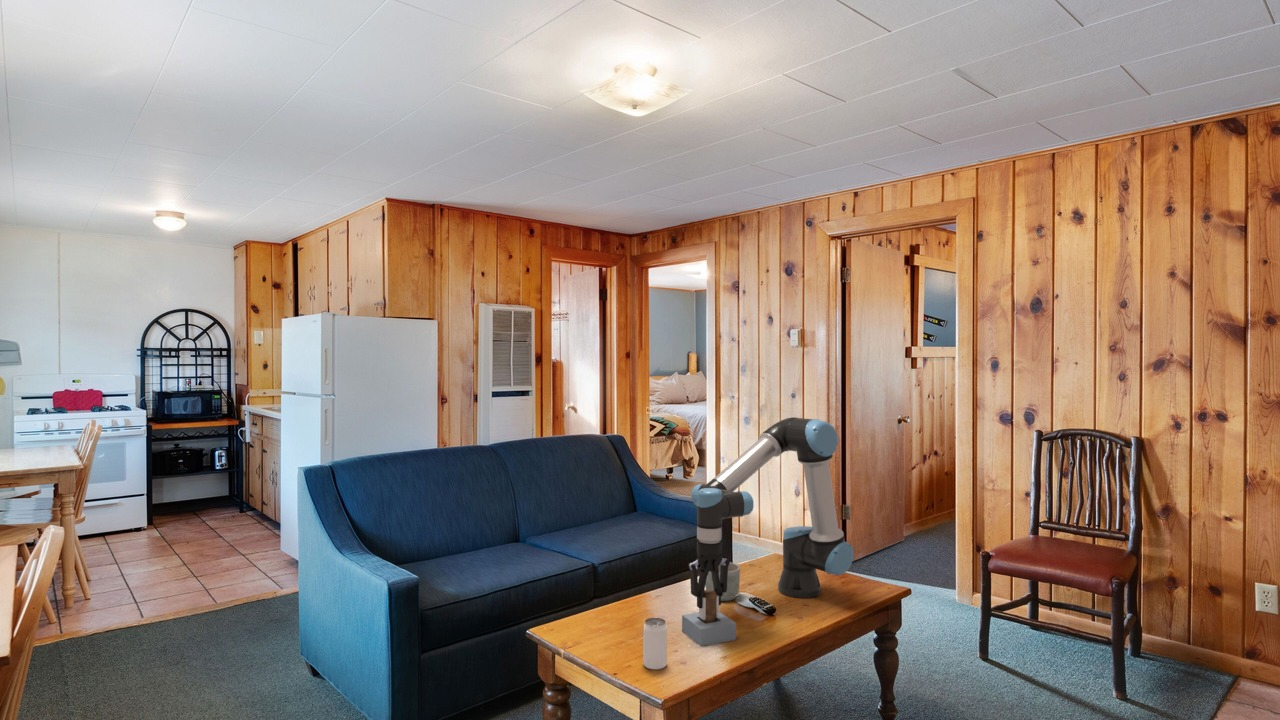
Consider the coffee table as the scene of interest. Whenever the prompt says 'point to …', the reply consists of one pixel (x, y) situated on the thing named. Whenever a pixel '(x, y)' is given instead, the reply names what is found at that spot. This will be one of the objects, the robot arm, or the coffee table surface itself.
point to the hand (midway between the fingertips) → (708, 617)
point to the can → (655, 644)
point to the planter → (732, 582)
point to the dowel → (710, 606)
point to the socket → (708, 629)
